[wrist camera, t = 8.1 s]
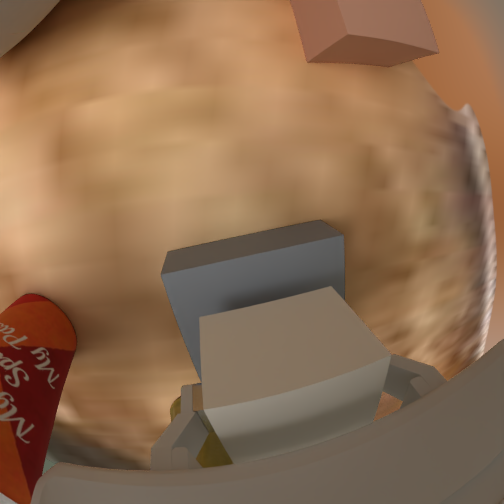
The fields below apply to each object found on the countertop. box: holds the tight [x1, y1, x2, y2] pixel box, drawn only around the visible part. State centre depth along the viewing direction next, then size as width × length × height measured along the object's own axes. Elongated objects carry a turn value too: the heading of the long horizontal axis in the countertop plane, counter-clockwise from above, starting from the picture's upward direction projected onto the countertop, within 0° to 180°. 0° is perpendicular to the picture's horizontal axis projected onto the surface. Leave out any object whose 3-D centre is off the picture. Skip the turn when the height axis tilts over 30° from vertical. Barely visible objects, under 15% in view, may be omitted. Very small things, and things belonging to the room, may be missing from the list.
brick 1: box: [290, 0, 439, 67], centre depth 9 cm, size 6×6×5 cm
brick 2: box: [199, 286, 391, 464], centre depth 11 cm, size 6×6×5 cm
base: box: [161, 220, 345, 383], centre depth 16 cm, size 9×9×3 cm
